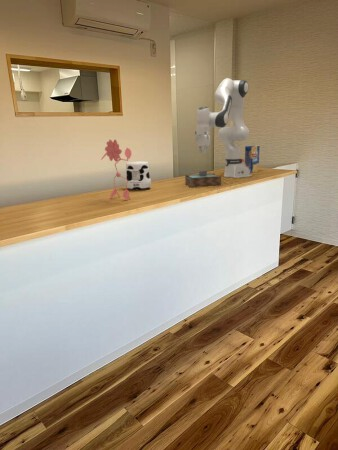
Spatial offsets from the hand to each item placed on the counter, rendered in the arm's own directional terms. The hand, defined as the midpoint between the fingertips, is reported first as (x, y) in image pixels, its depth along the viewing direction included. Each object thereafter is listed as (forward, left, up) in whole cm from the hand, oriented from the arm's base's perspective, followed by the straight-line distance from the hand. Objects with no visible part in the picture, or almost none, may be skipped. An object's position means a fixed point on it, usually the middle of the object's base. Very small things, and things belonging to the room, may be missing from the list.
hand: (202, 152), depth 228 cm
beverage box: (-59, -46, -23) cm, 78 cm away
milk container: (+46, 0, -23) cm, 51 cm away
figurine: (+63, +31, -23) cm, 74 cm away
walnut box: (0, 0, -22) cm, 22 cm away
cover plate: (0, 0, -17) cm, 17 cm away
